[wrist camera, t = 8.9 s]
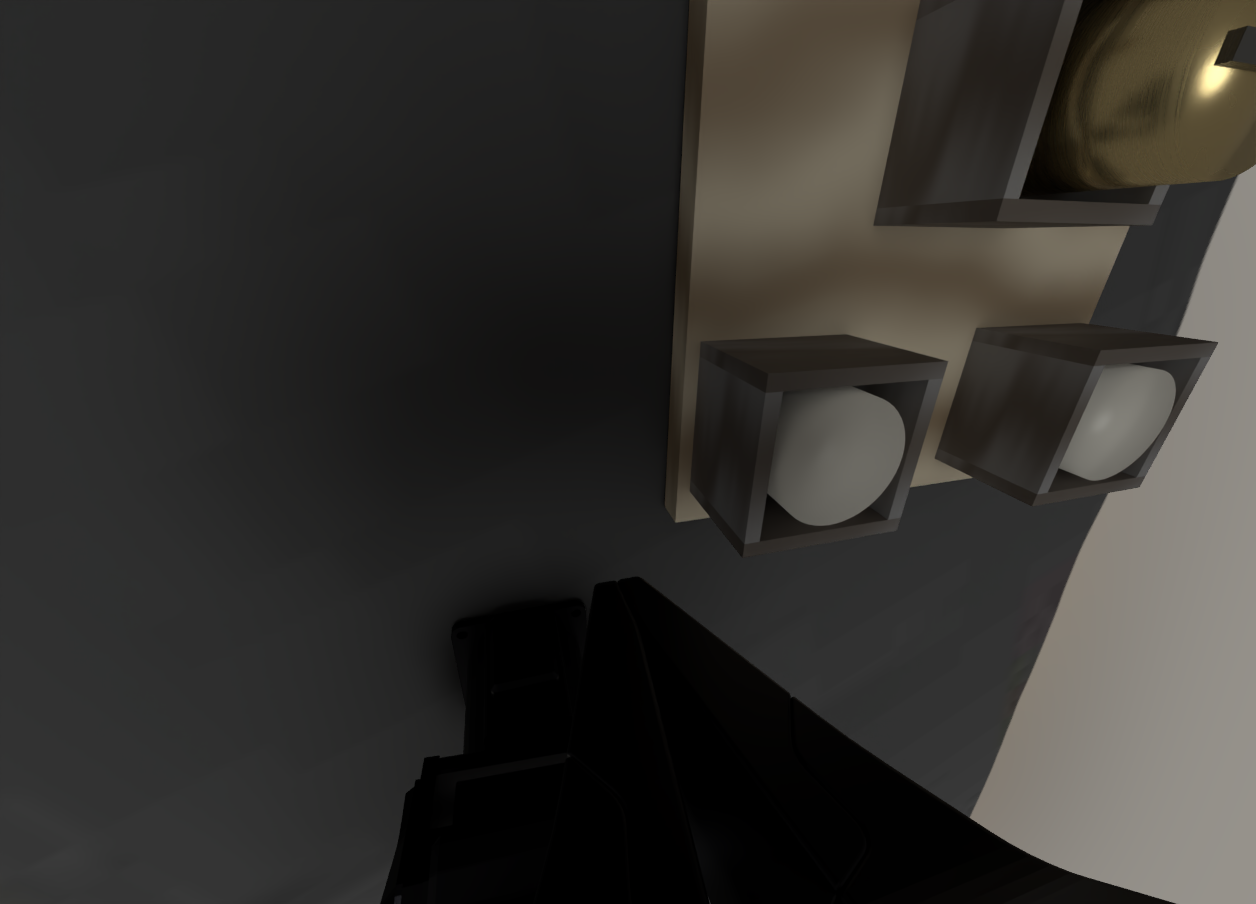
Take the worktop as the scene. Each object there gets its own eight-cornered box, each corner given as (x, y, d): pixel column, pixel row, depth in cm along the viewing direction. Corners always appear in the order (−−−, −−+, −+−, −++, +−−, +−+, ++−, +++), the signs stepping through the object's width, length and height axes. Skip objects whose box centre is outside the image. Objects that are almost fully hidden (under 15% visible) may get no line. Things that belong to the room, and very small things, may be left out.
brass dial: (1067, 199, 17) (1289, 183, 12) (959, 194, 15) (1161, 175, 11) (1131, 20, 15) (1430, -82, 10) (1013, -2, 13) (1291, -129, 9)
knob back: (1026, 433, 25) (1138, 473, 21) (954, 442, 24) (1058, 487, 20) (1063, 342, 23) (1196, 365, 19) (986, 346, 22) (1110, 373, 18)
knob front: (806, 460, 22) (885, 515, 18) (710, 472, 21) (769, 535, 16) (826, 356, 20) (921, 389, 15) (720, 362, 19) (791, 401, 14)
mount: (1002, 458, 28) (1132, 514, 22) (664, 506, 23) (723, 595, 17) (1165, 41, 20) (1438, -40, 14) (691, -40, 14) (824, -224, 9)
